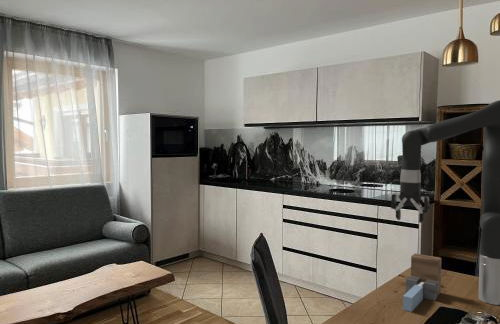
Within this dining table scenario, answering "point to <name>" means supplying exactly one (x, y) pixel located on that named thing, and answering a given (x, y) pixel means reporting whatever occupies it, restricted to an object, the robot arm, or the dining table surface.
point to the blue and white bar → (413, 297)
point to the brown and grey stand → (425, 275)
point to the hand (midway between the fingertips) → (409, 221)
